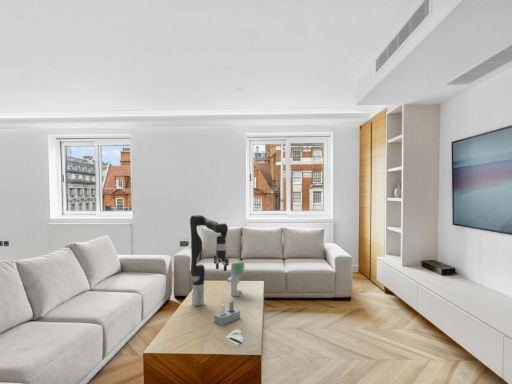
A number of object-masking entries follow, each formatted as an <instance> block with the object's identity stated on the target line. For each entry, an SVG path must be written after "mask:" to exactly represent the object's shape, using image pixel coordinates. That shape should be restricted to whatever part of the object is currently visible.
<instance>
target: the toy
mask: <svg viewBox="0 0 512 384" xmlns="http://www.w3.org/2000/svg"><path fill="white" fill-rule="evenodd" d="M230 265H231V268H230V269H231V273H230V276H229V277H228V278H227V279H226V280H227V283H230V296H231V297H240V294H241V293H243V290H241V289H239V290H238V284H239V283H240V275H241V274H242V273H244V271H245V260H243V261H242V260H235V261H233V262H232V263H231V264H230ZM241 295H242V294H241Z"/></svg>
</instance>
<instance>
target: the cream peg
mask: <svg viewBox="0 0 512 384" xmlns="http://www.w3.org/2000/svg"><path fill="white" fill-rule="evenodd" d="M225 310H226V305H225V304H220V312H221V316H225Z"/></svg>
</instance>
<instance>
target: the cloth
mask: <svg viewBox="0 0 512 384" xmlns="http://www.w3.org/2000/svg"><path fill="white" fill-rule="evenodd" d="M225 338H226V339H227V340H228V341H230V342H231V343H233V344H234V345H235V346H237V347H239V348H240V346H239V345H240V343H241V344H243V342H244V337H243V335H242V330H240V329H239V328H236V329H234V330H233V331H230V333H228V335H226V336H225Z"/></svg>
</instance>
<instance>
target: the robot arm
mask: <svg viewBox="0 0 512 384" xmlns="http://www.w3.org/2000/svg"><path fill="white" fill-rule="evenodd" d="M201 226H205V227H206V228H207V229H208V230H211V231H213V232H214V233H216V234H219V235H217V236H216V245H215V246H216V247H215V249H216V255H214V256H213V264H215V269H216V270H219V269H220V268H219V267H220V265H219V264H222V265H223V272H226V271H227V270H228V269H227V268H228V266H229V265H230V261H229V257H226V255H227V245H226V239H227V234H228V231H229V226H228V225H227V223H225V222H224V223H218V221H214V220H210V219H208V218H206V217H205V216H204V215H201V214H194V215H191V216H190V218H189V227H190V228H189V229H190V236H191V237H190V251H191V257H190V259H191V260H190V275H191V276H192V277H196V278H195V279H193V280H192V294H191V303H192V304H191V305H192V306H194V307H200V306H201V307H202V306H203V305H204V304H205V272H206V270H205V269H206V268H205V266H204V265H203V264H202V263H201V264H197V261H198V258H199V256H200V254H201V253H202V251H203V241H202V238H201V236H200V235H199V233H198V227H201Z"/></svg>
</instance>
